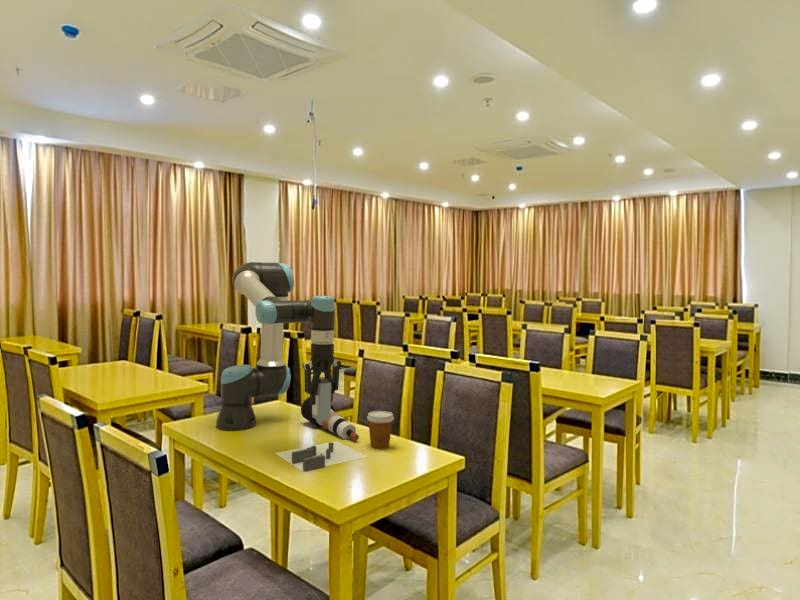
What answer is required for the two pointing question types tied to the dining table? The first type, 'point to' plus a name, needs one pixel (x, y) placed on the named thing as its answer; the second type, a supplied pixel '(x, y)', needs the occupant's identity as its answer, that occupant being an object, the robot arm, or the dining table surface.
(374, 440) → the disposable coffee cup
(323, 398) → the block
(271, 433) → the dining table surface
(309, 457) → the routing panel
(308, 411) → the cable
